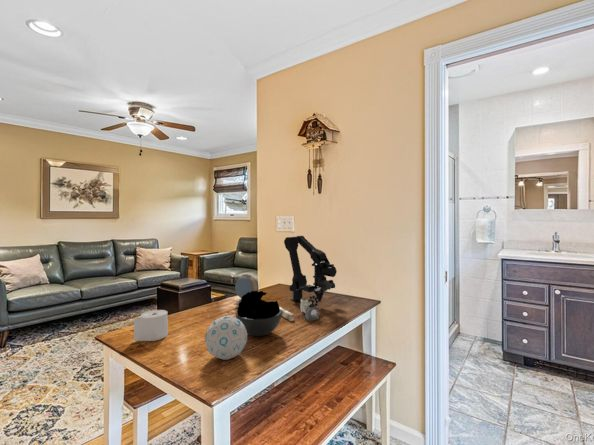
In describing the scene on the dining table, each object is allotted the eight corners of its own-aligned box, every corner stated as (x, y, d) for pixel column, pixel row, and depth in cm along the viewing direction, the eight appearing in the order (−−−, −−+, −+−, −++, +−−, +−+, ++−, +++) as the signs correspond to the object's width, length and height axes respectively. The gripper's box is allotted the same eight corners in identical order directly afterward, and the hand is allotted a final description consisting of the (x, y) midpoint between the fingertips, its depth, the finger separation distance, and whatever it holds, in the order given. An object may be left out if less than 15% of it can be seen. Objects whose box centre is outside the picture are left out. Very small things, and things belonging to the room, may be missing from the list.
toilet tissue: (173, 332, 136) (172, 310, 136) (155, 343, 124) (154, 319, 124) (152, 330, 138) (151, 309, 138) (132, 341, 126) (132, 317, 126)
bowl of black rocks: (257, 323, 147) (257, 284, 147) (291, 332, 136) (290, 290, 135) (226, 336, 131) (225, 293, 130) (260, 348, 119) (260, 301, 119)
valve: (307, 313, 161) (318, 307, 171) (306, 301, 161) (318, 296, 171) (296, 311, 165) (309, 305, 175) (296, 299, 165) (309, 294, 174)
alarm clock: (261, 303, 180) (261, 273, 179) (250, 308, 171) (250, 276, 171) (243, 300, 187) (243, 271, 187) (232, 304, 179) (231, 274, 178)
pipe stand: (301, 317, 155) (301, 306, 155) (310, 315, 158) (310, 304, 158) (309, 321, 149) (309, 310, 148) (319, 319, 152) (319, 308, 152)
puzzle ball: (196, 360, 110) (196, 319, 109) (226, 345, 123) (226, 308, 122) (227, 371, 102) (226, 327, 101) (255, 353, 115) (255, 314, 114)
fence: (273, 311, 165) (273, 305, 165) (276, 310, 166) (276, 305, 166) (290, 321, 150) (290, 315, 150) (293, 320, 151) (293, 314, 151)
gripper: (314, 278, 160) (314, 308, 161) (341, 274, 170) (341, 302, 171) (302, 275, 170) (302, 303, 170) (329, 271, 180) (329, 297, 180)
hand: (319, 301), depth 172 cm, fingers closed
